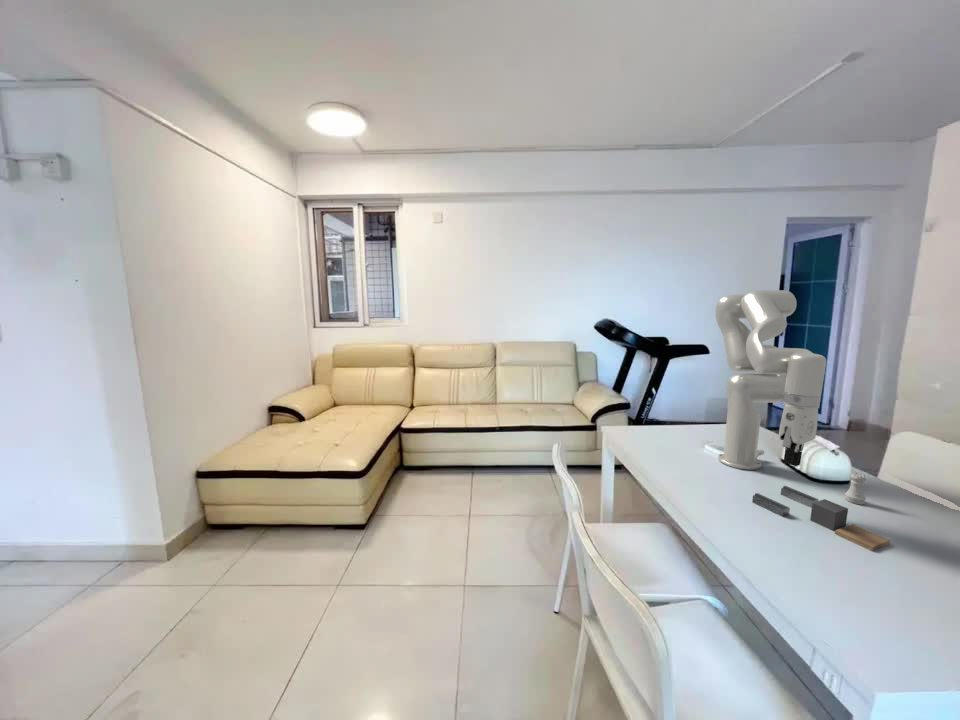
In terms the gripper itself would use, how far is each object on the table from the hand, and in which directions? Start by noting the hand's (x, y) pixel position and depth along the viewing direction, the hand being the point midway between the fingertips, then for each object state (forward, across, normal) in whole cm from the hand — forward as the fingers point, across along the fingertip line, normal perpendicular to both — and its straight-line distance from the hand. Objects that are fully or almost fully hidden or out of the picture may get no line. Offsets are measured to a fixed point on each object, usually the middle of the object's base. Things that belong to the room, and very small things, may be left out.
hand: (791, 463), depth 106 cm
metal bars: (+12, -1, 0) cm, 12 cm away
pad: (+11, -3, -17) cm, 21 cm away
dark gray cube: (+12, -2, -10) cm, 16 cm away
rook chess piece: (+12, +18, -9) cm, 24 cm away
